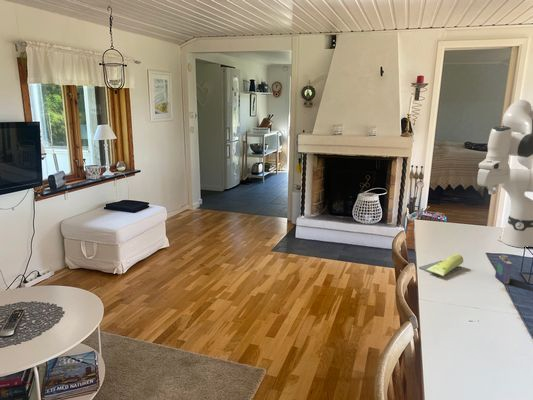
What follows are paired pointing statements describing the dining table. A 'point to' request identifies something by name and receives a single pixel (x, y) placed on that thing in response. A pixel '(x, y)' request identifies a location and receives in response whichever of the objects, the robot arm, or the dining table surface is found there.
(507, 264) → the blue purple box
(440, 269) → the tube
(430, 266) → the felt mat
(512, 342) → the dining table surface
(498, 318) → the dining table surface
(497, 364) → the dining table surface
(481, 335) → the dining table surface
